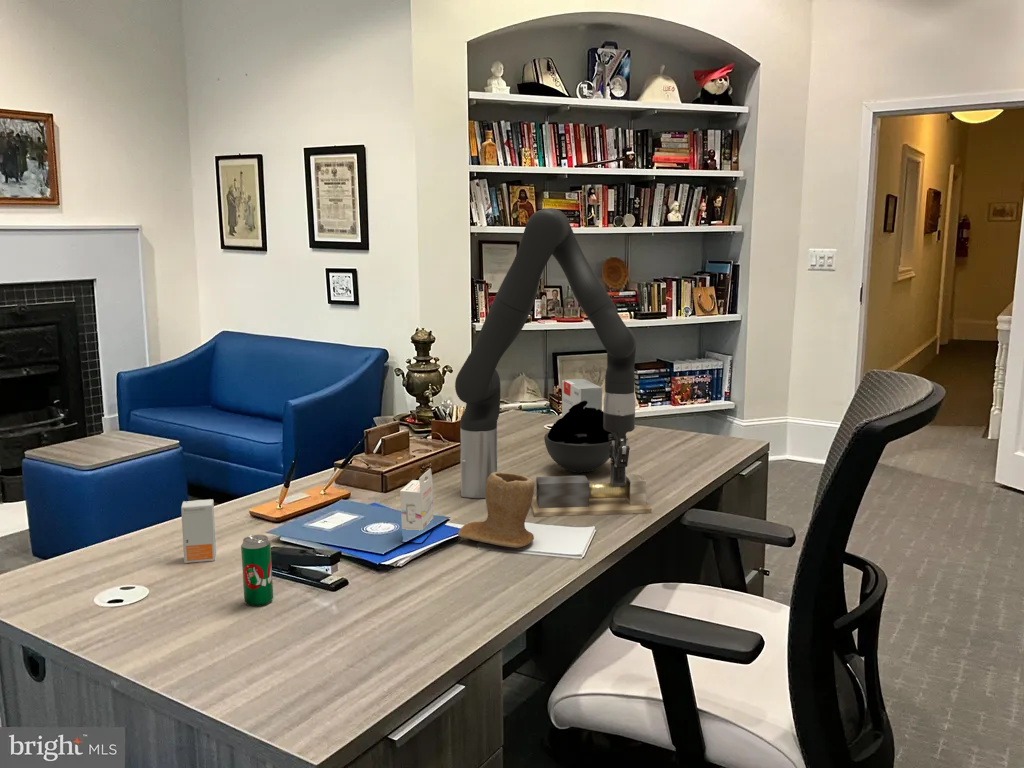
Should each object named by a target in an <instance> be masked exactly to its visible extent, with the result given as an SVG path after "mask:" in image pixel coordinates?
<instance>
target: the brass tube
mask: <svg viewBox="0 0 1024 768" xmlns="http://www.w3.org/2000/svg"><path fill="white" fill-rule="evenodd" d="M614 464H615V463H611V462H610V470H609V471H610V479H609V482H589V499H601V498H630V483H629V482H625V474H626V467H624V482H623V483H616V482H615V466H614Z"/></svg>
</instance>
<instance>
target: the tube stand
mask: <svg viewBox="0 0 1024 768" xmlns="http://www.w3.org/2000/svg"><path fill="white" fill-rule="evenodd" d="M535 479H536V481H535V482H536V488H535V490H536V494H535V496H533V499H532V503H531V506H530V509H531V510H532V513H533V517H534V518H535V517H562V516H563V517H564V516H565V517H566V516H597V515H598V516H600V515H625V514H626V515H629V514H631V515H633V513H637V514H652V507H651V506H650V505H649V504H648V503H647V480H646V479H645V477H643V475H642V474H640V473H635V474H633V473H632V474H631V473H630V474H629V473H628V474H626V473H625V482H629V483H630V498H601V499H589V483H590V481H589V479H588V478H587V476H586V475H559V476H558V475H557V476H556V475H555V476H554V475H552V476H550V475H549V476H536V478H535Z"/></svg>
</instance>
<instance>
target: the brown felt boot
mask: <svg viewBox="0 0 1024 768" xmlns="http://www.w3.org/2000/svg"><path fill="white" fill-rule="evenodd" d="M534 494H535V483H534V481H533V480H532V479H531V478H530V477H528V476H526V475H523V474H519V473H511V472H502V471H501V472H500V471H497V472H494V473H491V474H490V476H489V477H488V479H487V482H486V489H485V495H486V498H485V504H486V510H487V518H486V519H485V520H483V521H482V520H481V521H471V522H467V523H466V524H465V525H463V526H462V527H461V528H459V530H458V533H457V536H458V537H460V538H464V539H467V540H472V541H476V542H481V543H485V544H490V545H494V546H499V547H508V548H522V547H525V546H528V545H529V544H531V543H532V542H533V541H534V539H535V536H534V534H533V533H532V532H530V531H529V530H528V529H526V526H525V522H526V518H527V516H528V513H529V511H530V509H531V503H532V499H533V497H534Z"/></svg>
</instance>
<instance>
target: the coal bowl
mask: <svg viewBox="0 0 1024 768" xmlns="http://www.w3.org/2000/svg"><path fill="white" fill-rule="evenodd" d="M587 403H588V402H587V401H582V402H580V403H578V404H576V405H573V406H572V407H571V408H570V409H569V412H568V413H566V414H565V415H564V416H563V418H562V417H561V418H559V419H557V420H556V421H555V422H554V423H553V424H552V426H551V428H550V429H549V431H548V432H547V433H545V434H544V444H545V447H546V450H547V453H548V455H549V456H550V458H551V459H552V460H553V461H554V462H555V463H556V464H557V465H558V466H559V467H561V468H563V469H565V470H567V471H569V472H574V473H579V474H582V473H588V472H593V471H594V470H597V469H599V468H600V467H602V466H604V465H605V464H606V463H607V462H608V461H609V460H610V459H611V458H610V457H609V441H608V434H611V432H609V431H606V430H605V429H604V428H603V409H602V410H600V409H598V410H596V408H587V407H585V406H586V405H587ZM584 407H585V408H584Z"/></svg>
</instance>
